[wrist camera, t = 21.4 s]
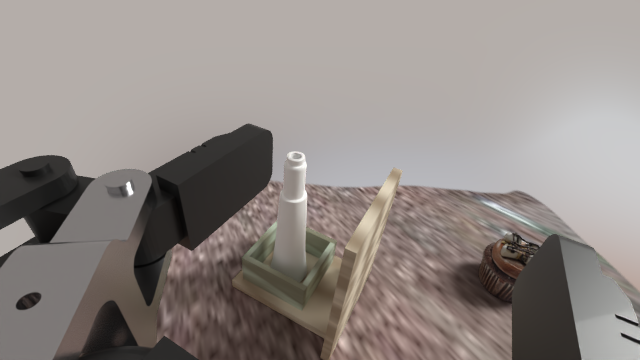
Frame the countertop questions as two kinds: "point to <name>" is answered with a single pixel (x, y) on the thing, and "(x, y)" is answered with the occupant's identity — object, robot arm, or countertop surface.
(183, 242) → the robot arm
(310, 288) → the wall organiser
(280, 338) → the countertop surface
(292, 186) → the cosmetic bottle
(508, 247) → the cupcake
